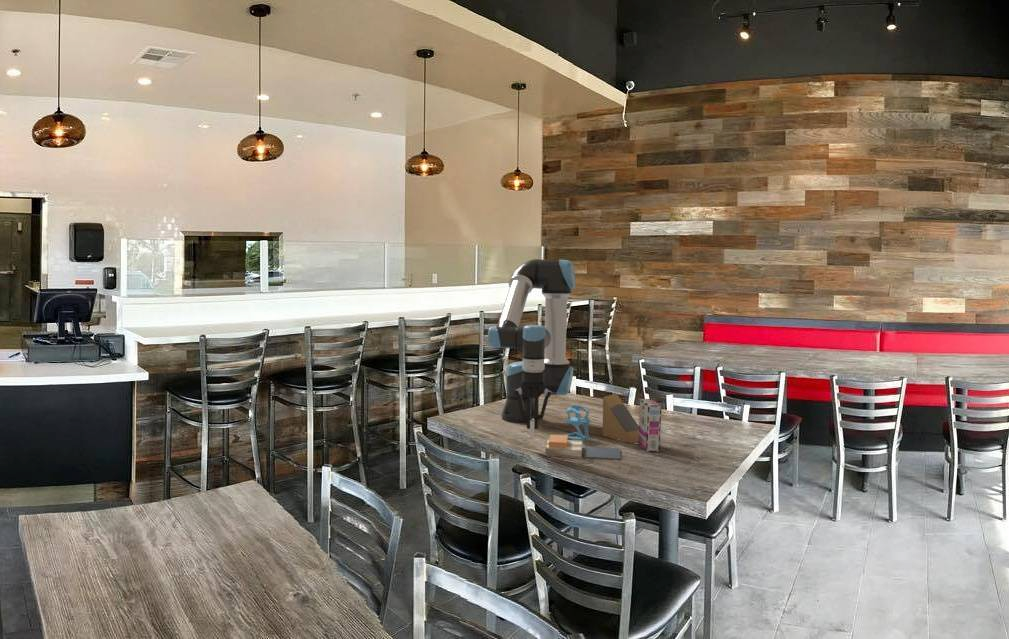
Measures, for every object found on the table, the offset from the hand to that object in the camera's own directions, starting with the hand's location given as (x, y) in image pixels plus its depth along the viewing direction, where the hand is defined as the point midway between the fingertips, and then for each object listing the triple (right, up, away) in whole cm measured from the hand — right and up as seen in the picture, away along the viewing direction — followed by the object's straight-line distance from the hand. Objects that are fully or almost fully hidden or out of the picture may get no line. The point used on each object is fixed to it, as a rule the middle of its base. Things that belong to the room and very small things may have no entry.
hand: (532, 438), depth 238 cm
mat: (+24, -5, -3) cm, 24 cm away
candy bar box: (+41, -4, +5) cm, 42 cm away
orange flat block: (+9, -2, -1) cm, 9 cm away
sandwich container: (+35, -3, +17) cm, 39 cm away
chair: (+17, -3, +15) cm, 23 cm away
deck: (+11, -5, -1) cm, 12 cm away
